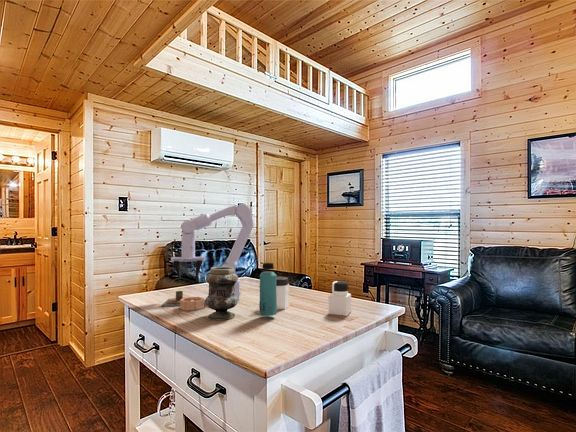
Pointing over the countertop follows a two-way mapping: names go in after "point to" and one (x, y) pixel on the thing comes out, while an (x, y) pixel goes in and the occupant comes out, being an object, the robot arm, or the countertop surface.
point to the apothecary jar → (221, 292)
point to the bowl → (192, 303)
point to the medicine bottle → (340, 299)
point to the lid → (176, 300)
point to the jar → (282, 292)
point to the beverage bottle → (268, 291)
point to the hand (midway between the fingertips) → (188, 277)
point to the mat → (169, 304)
